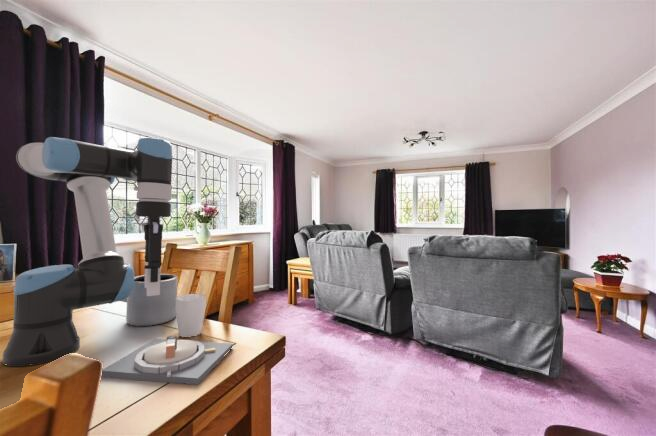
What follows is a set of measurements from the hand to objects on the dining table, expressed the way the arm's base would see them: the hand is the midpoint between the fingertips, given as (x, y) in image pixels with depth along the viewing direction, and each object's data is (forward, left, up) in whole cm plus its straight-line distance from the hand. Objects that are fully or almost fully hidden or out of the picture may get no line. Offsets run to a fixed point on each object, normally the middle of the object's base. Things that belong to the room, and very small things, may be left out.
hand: (151, 290), depth 75 cm
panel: (+4, +4, -19) cm, 20 cm away
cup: (-2, +22, -20) cm, 30 cm away
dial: (+4, +3, -18) cm, 19 cm away
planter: (-23, +32, -20) cm, 44 cm away
